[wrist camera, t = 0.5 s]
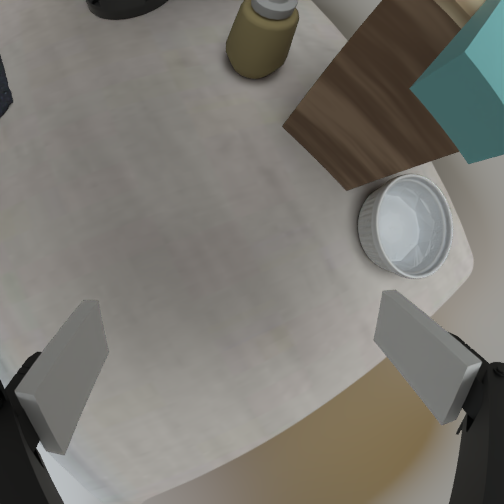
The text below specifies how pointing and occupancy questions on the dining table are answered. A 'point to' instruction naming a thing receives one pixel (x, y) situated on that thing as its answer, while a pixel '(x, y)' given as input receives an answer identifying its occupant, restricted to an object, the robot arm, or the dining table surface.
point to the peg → (470, 85)
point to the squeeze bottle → (261, 36)
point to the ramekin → (407, 226)
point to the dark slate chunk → (4, 90)
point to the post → (380, 94)
